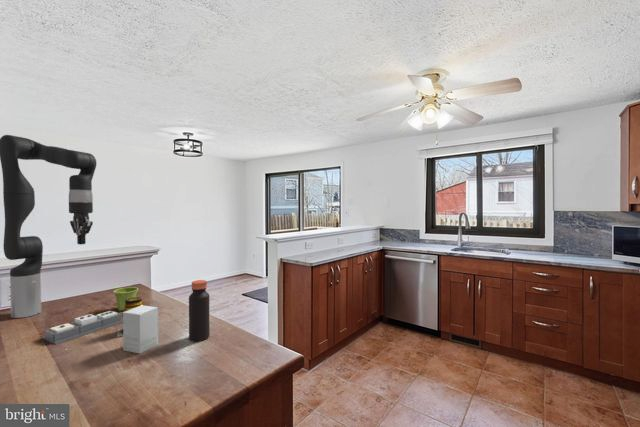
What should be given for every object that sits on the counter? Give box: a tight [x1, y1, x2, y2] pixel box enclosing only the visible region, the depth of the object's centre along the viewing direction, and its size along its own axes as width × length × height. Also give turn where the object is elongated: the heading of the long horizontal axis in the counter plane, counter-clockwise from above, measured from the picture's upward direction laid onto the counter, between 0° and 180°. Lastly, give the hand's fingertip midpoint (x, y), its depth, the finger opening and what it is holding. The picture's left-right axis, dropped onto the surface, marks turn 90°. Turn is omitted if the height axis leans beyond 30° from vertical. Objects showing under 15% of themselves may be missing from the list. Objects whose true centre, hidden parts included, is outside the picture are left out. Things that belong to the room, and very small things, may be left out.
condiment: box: [116, 296, 143, 338], centre depth 110 cm, size 7×8×12 cm
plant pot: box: [113, 286, 139, 312], centre depth 134 cm, size 9×9×9 cm
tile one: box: [49, 322, 74, 333], centre depth 105 cm, size 5×5×3 cm
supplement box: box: [122, 304, 159, 354], centre depth 98 cm, size 7×7×13 cm
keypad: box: [41, 310, 123, 345], centre depth 111 cm, size 10×22×3 cm, turn 153°
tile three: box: [96, 310, 118, 319], centre depth 118 cm, size 5×5×3 cm
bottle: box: [188, 279, 210, 342], centre depth 105 cm, size 7×7×20 cm
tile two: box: [74, 313, 97, 326], centre depth 111 cm, size 5×5×3 cm
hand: (81, 244), depth 120 cm, fingers closed
